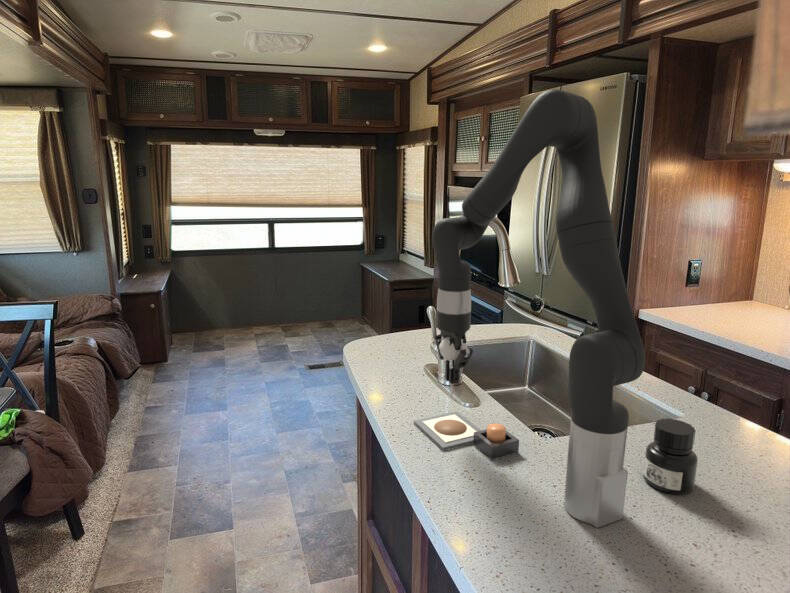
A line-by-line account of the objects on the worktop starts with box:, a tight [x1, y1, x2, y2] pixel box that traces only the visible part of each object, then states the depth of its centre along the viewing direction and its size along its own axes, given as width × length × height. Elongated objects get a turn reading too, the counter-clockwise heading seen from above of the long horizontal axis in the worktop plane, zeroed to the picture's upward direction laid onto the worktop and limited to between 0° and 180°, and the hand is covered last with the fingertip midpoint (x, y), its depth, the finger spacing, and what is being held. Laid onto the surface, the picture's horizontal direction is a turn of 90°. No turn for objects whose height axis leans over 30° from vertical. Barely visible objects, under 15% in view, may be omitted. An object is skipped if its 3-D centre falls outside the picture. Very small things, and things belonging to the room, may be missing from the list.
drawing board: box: [413, 411, 482, 452], centre depth 125 cm, size 14×12×1 cm
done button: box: [486, 423, 507, 444], centre depth 116 cm, size 4×4×3 cm
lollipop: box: [439, 337, 460, 399], centre depth 121 cm, size 6×6×15 cm
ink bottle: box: [642, 418, 699, 495], centre depth 103 cm, size 10×9×12 cm
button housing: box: [472, 428, 520, 461], centre depth 117 cm, size 7×7×3 cm
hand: (451, 381), depth 122 cm, fingers closed on lollipop, 1 cm apart
